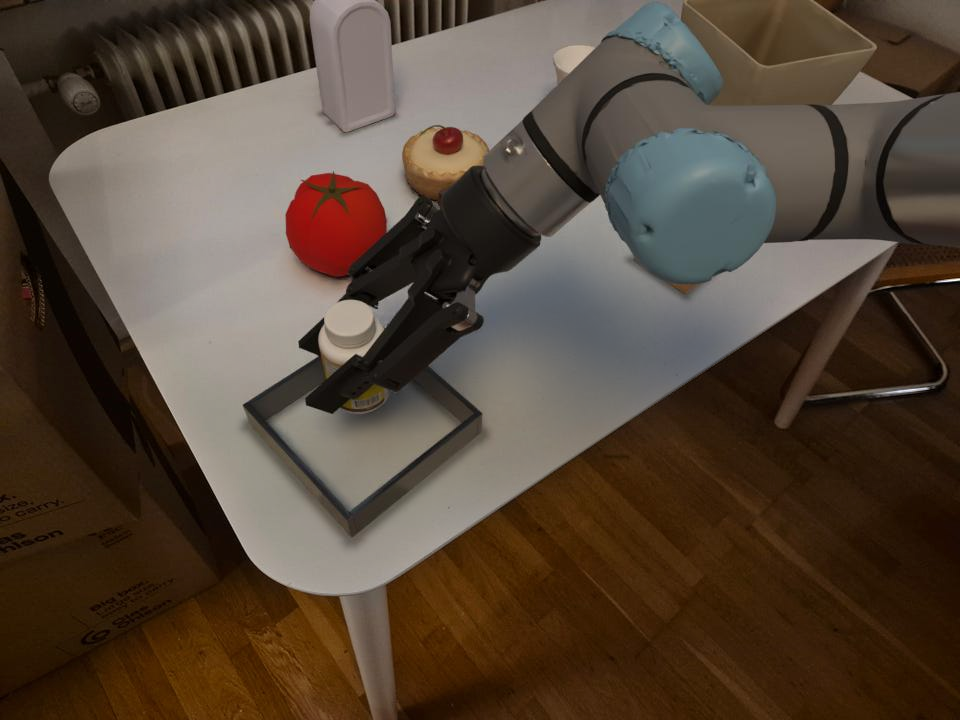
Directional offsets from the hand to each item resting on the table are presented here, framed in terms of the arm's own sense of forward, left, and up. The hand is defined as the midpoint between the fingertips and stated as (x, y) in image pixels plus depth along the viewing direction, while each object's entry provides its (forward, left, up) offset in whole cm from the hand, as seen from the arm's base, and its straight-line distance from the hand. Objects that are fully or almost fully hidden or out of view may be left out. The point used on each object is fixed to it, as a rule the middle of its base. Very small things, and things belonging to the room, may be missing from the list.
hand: (315, 376), depth 58 cm
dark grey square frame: (-2, -3, -10) cm, 11 cm away
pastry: (+22, -36, -10) cm, 44 cm away
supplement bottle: (-2, -3, -4) cm, 5 cm away
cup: (+20, -61, -10) cm, 65 cm away
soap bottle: (+42, -37, -10) cm, 57 cm away
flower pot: (+2, -78, -10) cm, 79 cm away
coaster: (-9, -47, -10) cm, 49 cm away
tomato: (+19, -16, -10) cm, 27 cm away
